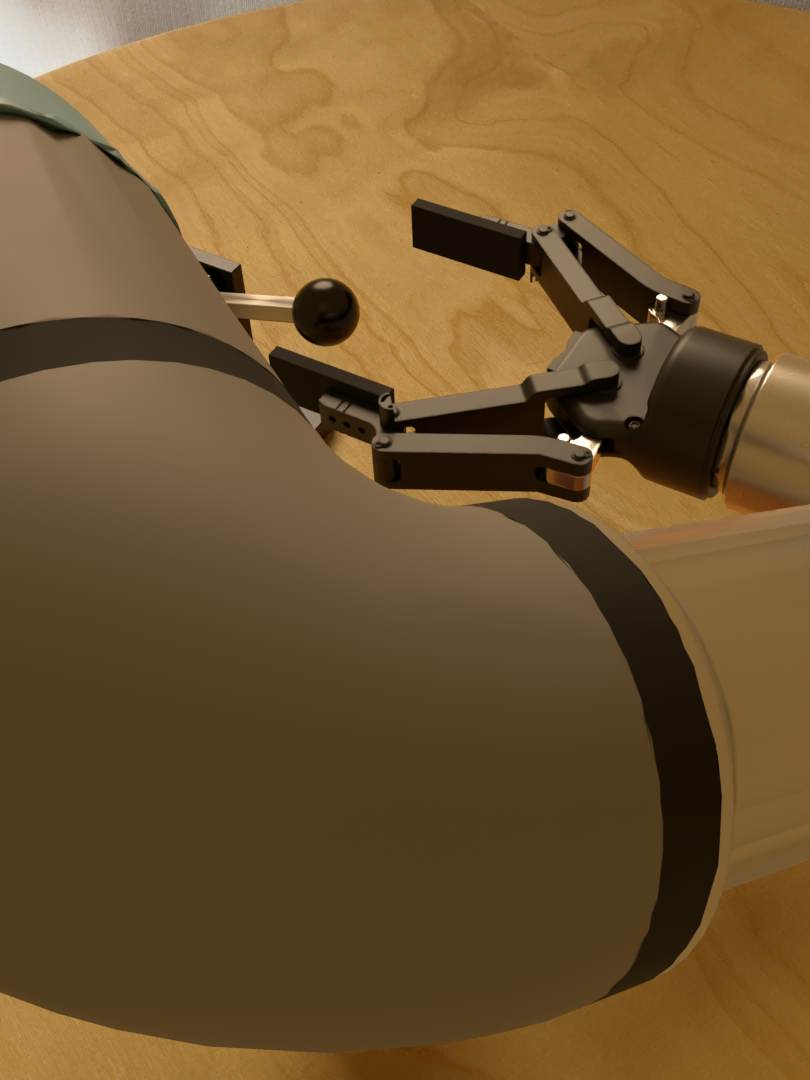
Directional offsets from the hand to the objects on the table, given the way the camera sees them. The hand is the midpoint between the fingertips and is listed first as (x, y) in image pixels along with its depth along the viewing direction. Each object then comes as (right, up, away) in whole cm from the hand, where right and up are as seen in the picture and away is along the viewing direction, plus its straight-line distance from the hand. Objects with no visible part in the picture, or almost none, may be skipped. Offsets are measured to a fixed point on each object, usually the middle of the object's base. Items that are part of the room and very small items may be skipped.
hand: (348, 292), depth 69 cm
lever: (-5, -1, +6) cm, 8 cm away
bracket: (-9, -6, +16) cm, 19 cm away
